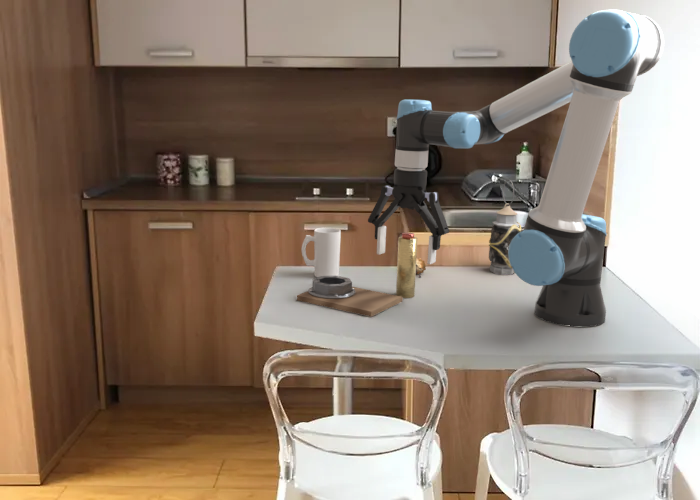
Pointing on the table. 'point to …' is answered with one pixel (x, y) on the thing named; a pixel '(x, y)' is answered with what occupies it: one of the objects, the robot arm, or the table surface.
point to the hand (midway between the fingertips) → (405, 258)
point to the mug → (324, 251)
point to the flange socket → (331, 287)
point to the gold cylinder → (406, 265)
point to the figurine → (420, 266)
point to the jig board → (356, 301)
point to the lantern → (503, 239)
